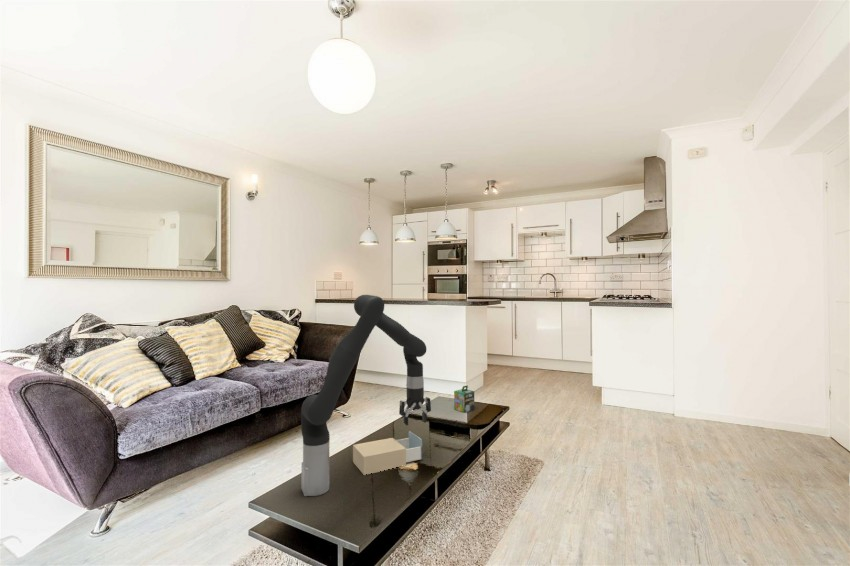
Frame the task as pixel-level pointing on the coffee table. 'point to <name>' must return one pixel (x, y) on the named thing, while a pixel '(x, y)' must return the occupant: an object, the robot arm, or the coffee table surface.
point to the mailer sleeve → (378, 455)
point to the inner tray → (412, 447)
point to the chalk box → (464, 400)
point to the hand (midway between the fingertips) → (415, 423)
